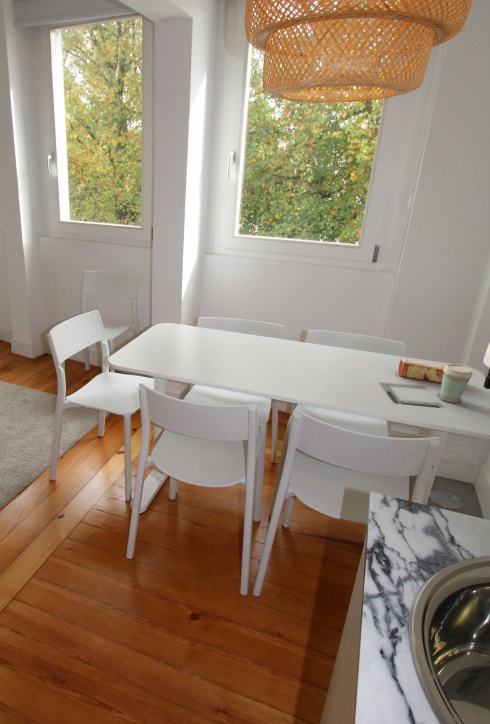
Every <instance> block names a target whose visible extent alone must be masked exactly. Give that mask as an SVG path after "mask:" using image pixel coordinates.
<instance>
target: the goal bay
mask: <svg viewBox="0 0 490 724" xmlns="http://www.w3.org/2000/svg"><path fill="white" fill-rule="evenodd" d="M386 394H387V395H388V397H389V398H390V399H391V401H392V402H393V403H394V404H401V405H407V406H417V407H427V408H437V409H441V408H440V406H439V405H438V404H437V405H436V404H427V403H425V404H424V403H413V402H400V403H399V401H398V399H396V397H395V396H394V394H393V393H392V391H391V390H390V391H388V390H387V391H386Z"/></svg>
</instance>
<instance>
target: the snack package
mask: <svg viewBox="0 0 490 724" xmlns="http://www.w3.org/2000/svg"><path fill="white" fill-rule="evenodd" d="M445 367H446V365H443V364H436V363H431V362H425V361H419V360H414V359H409V358H404V357H403V358H401V359H400V361H399V364H398V376H399V377H402V378H407V379H408V378H409V379H413V380H420V381H426V382H432V383H437V384H442V380H443V374H444V371H443V369H444V368H445Z"/></svg>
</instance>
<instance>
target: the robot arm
mask: <svg viewBox="0 0 490 724" xmlns="http://www.w3.org/2000/svg"><path fill="white" fill-rule="evenodd" d="M483 364H484V366H485V368H486V372H485V380H484V382H483V388H484V389H486V390H490V342H488V345H487V348H486V351H485V354H484V356H483Z"/></svg>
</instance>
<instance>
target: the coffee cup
mask: <svg viewBox="0 0 490 724" xmlns="http://www.w3.org/2000/svg"><path fill="white" fill-rule="evenodd" d="M445 366H446V367H445V368H444V369H443V371H444V374H443V380H442V383H441V385H440V386H441V387H440V392H439V399H441V400H443V401H444V402H446V403H452V404H457V403H459V402H460V399H461V398H462V396H463V394H464V391H465V390H466V388H467V386H468V383H470V379H471V378H472V377H473V370H472V368H471V367H469V366H467V365H464V364H461V363H453V362H452V363H447V364H446V365H445Z"/></svg>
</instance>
